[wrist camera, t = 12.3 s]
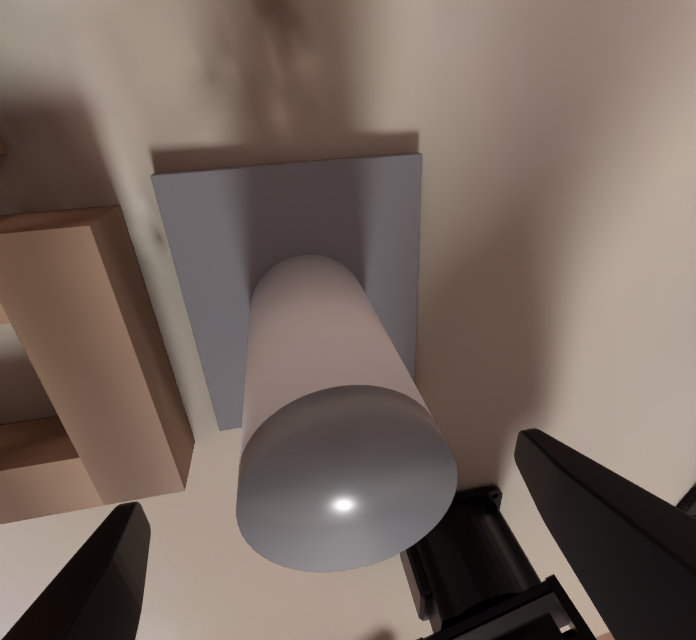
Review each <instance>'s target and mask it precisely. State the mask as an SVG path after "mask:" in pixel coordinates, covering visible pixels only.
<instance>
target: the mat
mask: <svg viewBox="0 0 696 640" xmlns="http://www.w3.org/2000/svg"><path fill="white" fill-rule="evenodd" d="M421 173H422V154H420V153H405V154H393V155H380V156H367V157H355V158H342V159H330V160H317V161H304V162H292V163H279V164H267V165H254V166H241V167H229V168H216V169H204V170H191V171H179V172H166V173H154V174H153V175H151V180H152V183H153V187H154V191H155V195H156V198H157V202H158V206H159V209H160V213H161V217H162V220H163V224H164V228H165V231H166V235H167V239H168V242H169V246H170V250H171V253H172V257H173V261H174V264H175V268H176V272H177V276H178V279H179V283H180V287H181V290H182V294H183V298H184V301H185V305H186V309H187V312H188V316H189V320H190V323H191V327H192V331H193V334H194V338H195V342H196V345H197V349H198V353H199V357H200V360H201V364H202V368H203V371H204V375H205V379H206V382H207V386H208V390H209V393H210V397H211V401H212V404H213V408H214V412H215V415H216V419H217V423H218V426H219V430H220V431H222V430H228V429H234V428H240V427H242V420H243V406H244V392H245V378H246V364H247V350H248V336H249V322H250V308H251V300H252V295H253V292H254V289H255V287H256V285H257V283H258V282H259V280H260V279H261V278H262V276H263V275H264V274H265V273H266V272H267V271H268V270H269V269H270V268H272V267H273V266H274V265H276V264H277V263H279V262H281V261H283V260H285V259H287V258H291V257H294V256H299V255H308V254H313V255H321V256H326V257H329V258H332V259H335V260H336V261H338V262H340V263H342V264H343V265H345V266H346V267H347V268H348V269H350V270H351V271H352V272H353V274H354V275H355V276H356V277H357V279H358V281H359V282H360V284H361V286H362V288H363V290H364V292H365V293H366V295H367V297H368V299H369V301H370V303H371V305H372V306H373V308H374V310H375V312H376V314H377V316H378V317H379V319H380V321H381V323H382V325H383V327H384V328H385V330H386V332H387V334H388V336H389V338H390V340H391V341H392V343H393V345H394V347H395V349H396V351H397V352H398V354H399V356H400V358H401V360H402V362H403V363H404V365H405V367H406V369H407V371H408V373H409V375H410V376H411V378H412V380H413V382H414V384H415V363H416V331H417V300H418V268H419V237H420V205H421Z"/></svg>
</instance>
